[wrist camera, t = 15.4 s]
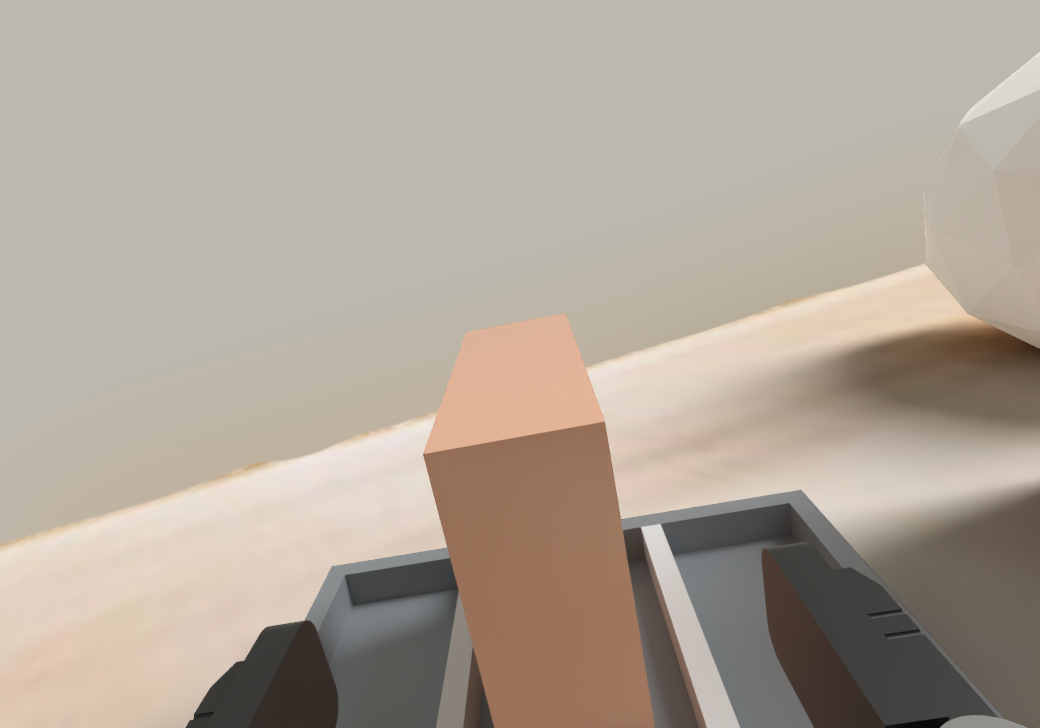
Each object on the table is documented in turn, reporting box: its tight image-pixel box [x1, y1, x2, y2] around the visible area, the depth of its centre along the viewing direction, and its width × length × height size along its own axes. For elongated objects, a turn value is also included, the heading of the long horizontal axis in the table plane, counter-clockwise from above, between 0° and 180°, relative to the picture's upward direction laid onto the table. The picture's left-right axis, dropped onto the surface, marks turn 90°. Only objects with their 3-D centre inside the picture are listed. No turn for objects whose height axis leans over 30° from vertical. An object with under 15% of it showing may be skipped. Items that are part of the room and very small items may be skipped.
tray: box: [305, 490, 1006, 728], centre depth 19 cm, size 14×20×2 cm
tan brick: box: [423, 313, 655, 728], centre depth 18 cm, size 10×4×11 cm, turn 0°
